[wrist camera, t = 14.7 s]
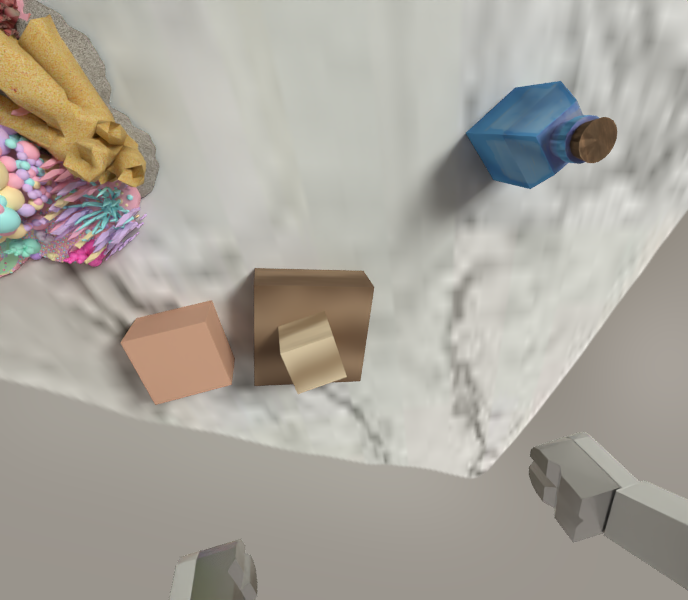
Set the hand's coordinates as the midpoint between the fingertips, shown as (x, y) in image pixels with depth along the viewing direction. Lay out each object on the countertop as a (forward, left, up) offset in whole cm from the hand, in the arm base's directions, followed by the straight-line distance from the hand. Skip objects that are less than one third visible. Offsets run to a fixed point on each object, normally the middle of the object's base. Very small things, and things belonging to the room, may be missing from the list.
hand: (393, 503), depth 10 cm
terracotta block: (+10, -15, -31) cm, 36 cm away
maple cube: (+11, -2, -27) cm, 29 cm away
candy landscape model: (-12, -23, -32) cm, 41 cm away
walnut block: (+11, -2, -32) cm, 33 cm away
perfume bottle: (-4, +23, -31) cm, 39 cm away
